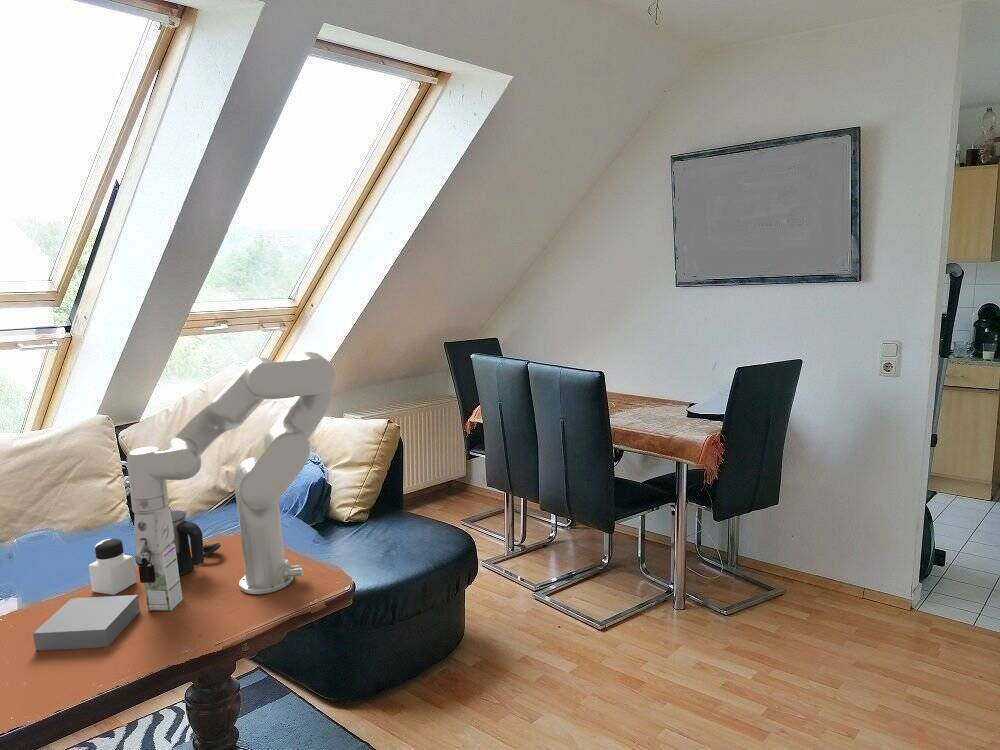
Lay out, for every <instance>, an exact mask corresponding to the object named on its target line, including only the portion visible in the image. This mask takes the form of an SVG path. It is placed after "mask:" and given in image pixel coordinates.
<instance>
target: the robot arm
mask: <svg viewBox="0 0 1000 750" xmlns="http://www.w3.org/2000/svg"><path fill="white" fill-rule="evenodd" d="M335 380H336V369H335V367H334V366H333V364H332V363H331V362H330V361H329V360H328V359H327V358H326V357H324V356H322V355H321V354H319V353H317V352H313V351H305V352H303V353H301V354H299V355H298V356H297V357H296V359H295V360H288V361H273V360H271V359H270V358H266V357H255V358H253V359H251V360H249V361H248V362H247V364H245V366H243V367H242V369H241V370H239V372H238V373H237V374H236V375H235V376H234V377H233V379H231V380H230V382H229V383H227V385H226V386H225V387H224V388H223V389H222V390H221V391H220V392H219V393H218V394H217V395H216V396H215V397H214V398H213V399H212V401H210V402H209V403H207V405H206V406H204V407H203V408H202V410H200V411H199V412H198V413H197V414H196V415H195V416H193V418H191V419H190V420H189V421H188V422H187V423H186V424H185V426H183V427H182V428H181V429H180V431H179V432H178V433H177V434H176V435H175V436H174V437H173V438H172V439H171V440H170V442H169V443H168V444H167V446H166V448H165V450H164V451H163V450H162V449H161V448H160V447H156V446H144V447H139V448H135V449H133V450H131V451H130V452H128V453H127V456H126V464H127V465H126V466H127V475H128V482H129V492H130V493H129V494H130V501H131V511H132V513H134V521H133V522H134V523H133V524H134V528H133V529H134V543H135V551H134V552H133V558H134V559H135V563H136V565H137V566H136V567H137V568H138V573H139V582H140V583H141V584H144V583H154V582H155V581H156V579H155V570H154V565H152V562H153V557H154V554H155V555H159V554H160V553H161V552H162V551H163V550H164V549H165V548H167V547H168V546H169V545H170V544H172V541H173V540H174V530H173V523H172V517H171V512H170V511H171V507H170V505H169V504H170V503H169V495H168V484H167V481H168V480H169V481H184V480H185V481H186V480H189V479H191V478H194V477H195V476H196V475H197V474H198V473H199V472H200V470H201V468H202V458H201V455H202V454H203V453H204V452H205V451H206V450H207V448H209V446H211V445H212V443H213V442H215V440H217V439H218V438H219V437H220V436H221V435H223V434H225V433H227V432H228V431H231V430H235V429H238V427H240V426H242V424H244V423H245V421H246V420H247V419H249V417H250V416H251V415H252V413H253V412H254V411H255V410H256V409H257V408H259V406H260V405H261V403H263V402H264V401H265V400H280V399H282V400H283V399H288V398H292V400H291V402H290V403H289V405H288V406H287V407H286V408H285V410H284V411H283V412H282V414H281V415H280V416H279V417H278V418H277V420H276V421H275V422H274V424H273V425H272V426H271V427H270V429H269V430H268V431H267V432H266V434H265V436H264V439H263V448H264V452H262V454H261V456H259V457H257V456H252V457H249V458H248V457H247V458H246V459H244V460H242V461H241V462H239V464H238V465H237V466H236V469H235V471H234V473H233V487H234V495H235V500H236V507H237V514H238V521H239V522H238V524H239V531H240V542H241V549H242V558H243V559H242V560H243V566H244V567H243V569H244V576H243V577H242V578H241V579H240V580H239V583H238V584H239V589H240V590H241V591H242V592H243V593H245V594H249V595H264V594H265V595H266V594H271V593H274V592H277V591H280V590H282V589H284V588H286V587H287V586H289V585H290V584H291V583H292V582H293V580H294V577H303V576H304V569H303V567H301V564H296V565H291V564H290V563H289V562H290V561H289V559H285V549H284V539H283V529H282V522H281V521H282V519H281V510H280V502H279V500H280V499H281V498H282V497H283V495H284V494H285V492H286V491H287V490H288V489H289V487H290V486H291V484H293V482H294V480H296V479H297V477H298V475H299V474H300V473H301V472H302V471H303V469H304V468H305V465H306V464H307V462H308V459H309V458H310V454H311V444H310V442H309V441H310V440H309V439H310V437H311V436H312V435H313V433H314V431H315V430H316V428H317V427H319V424H320V423H321V421H322V420H323V419H324V417H325V415H326V413H327V412H328V409H329V407H330V404H331V401H332V400H331V399H332V389H333V388H332V386H333V385H334V383H335ZM146 551H150V552H146ZM144 556H149V559H148V560H147V559H146V558H144Z"/></svg>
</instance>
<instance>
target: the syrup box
mask: <svg viewBox="0 0 1000 750" xmlns="http://www.w3.org/2000/svg"><path fill="white" fill-rule="evenodd" d="M146 552H150V551H146ZM144 558H146V559H147V560H148V559H149V556H144ZM152 565H154V570H155V579H156V581H155V582H154V583H143V586H144V593H145V598H146V605H147V611H148V612H149V611H152V612H154V611H155V612H165V611H167V612H170V611H172V610H174V608H176V607H177V606H178V605H179V604H180V603H181V602H182V601H183V592H182V586H181V580H180V576H179V571H178V563H177V555H176V548H175V544H170V545H169V546H168V547H167V548H165V549H164V550H163V551H162V552H161V553H160V554H159V555H155V554H154V557H153V562H152Z"/></svg>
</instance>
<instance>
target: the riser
mask: <svg viewBox="0 0 1000 750" xmlns="http://www.w3.org/2000/svg"><path fill="white" fill-rule="evenodd" d="M140 612H141V608H140V602H139V595H138V594H130V595H112V596H108V595H107V596H93V597H91V596H90V597H73V598H70V599H69V600H68V601H67V602H66V603H65V604H64V605H63V606H61V607H60V608H59V609H58V610H57V611H56V612H54V613H53V614H52V616H50V617H49V618H48V619H47V620H46V621H45V622H44V623H42V624H41V626H39V627H38V628H37V629H36V630H35V631H34V632H33V633H32V636H33V637H32V638H33V642H34V647H35V651H36V650H39V651H55V650H74V649H75V650H76V649H91V648H92V649H95V648H108V647H109V646H111V644H112V643H113V642H114V640H115V639H116V638H118V637H119V635H120V634H121V633H122V632H123V631H124V630H125V628H126V627H127V626H128V625H129V624H130V623H131V622H132V621H133V620H134V619H135V617H137V615H138V614H139V613H140Z"/></svg>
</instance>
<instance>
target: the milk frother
mask: <svg viewBox="0 0 1000 750" xmlns="http://www.w3.org/2000/svg"><path fill="white" fill-rule="evenodd" d="M170 512H171V517H172V523H173V530H174V540H173V541H172V544H175V548H176V555H177V563H178V571H179V577H180V576H183V575H185V574H187V573H188V572H190V571H192V570H193V569H194V567H195V566H199V565H200V564H202V563H203V562H204V561H205V559H206V557H208V556H209V555H212V554H214V553H216V552H217V551H218V550H219V549H220V548H221V546H222V545H221V543H219V542H218V543H213V544H204V541H203V540H204V538H203V532H202V529H201V528H200V526H199V525H197V524H196V523H195V522H192V521H187V517H186V516H187V515H188V513H187V512H186V511H184V510H170Z"/></svg>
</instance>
